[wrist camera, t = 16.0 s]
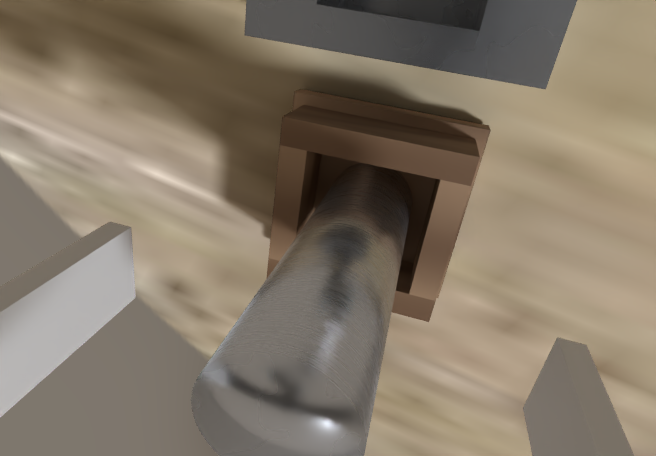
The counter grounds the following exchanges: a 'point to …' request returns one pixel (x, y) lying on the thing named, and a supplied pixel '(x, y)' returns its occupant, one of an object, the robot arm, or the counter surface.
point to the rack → (389, 152)
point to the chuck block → (426, 32)
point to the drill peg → (313, 331)
